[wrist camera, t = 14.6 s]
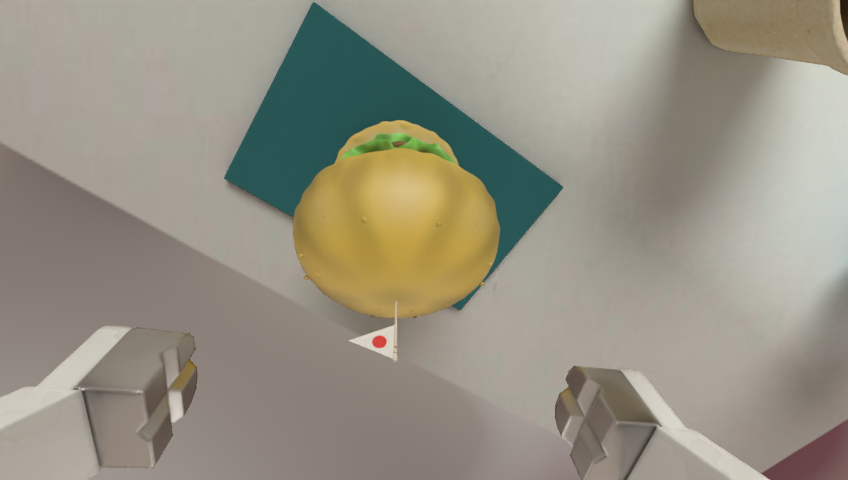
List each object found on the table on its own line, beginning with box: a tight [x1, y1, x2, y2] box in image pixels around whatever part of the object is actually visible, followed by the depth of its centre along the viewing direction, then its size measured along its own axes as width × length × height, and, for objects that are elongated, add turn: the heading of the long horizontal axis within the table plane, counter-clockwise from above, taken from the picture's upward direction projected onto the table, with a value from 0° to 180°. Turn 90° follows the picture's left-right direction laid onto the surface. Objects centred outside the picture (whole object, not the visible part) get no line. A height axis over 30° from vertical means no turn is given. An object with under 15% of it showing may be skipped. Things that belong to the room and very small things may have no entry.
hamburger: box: [293, 120, 500, 362], centre depth 16 cm, size 8×7×12 cm
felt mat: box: [224, 2, 563, 310], centre depth 22 cm, size 16×10×1 cm, turn 55°
